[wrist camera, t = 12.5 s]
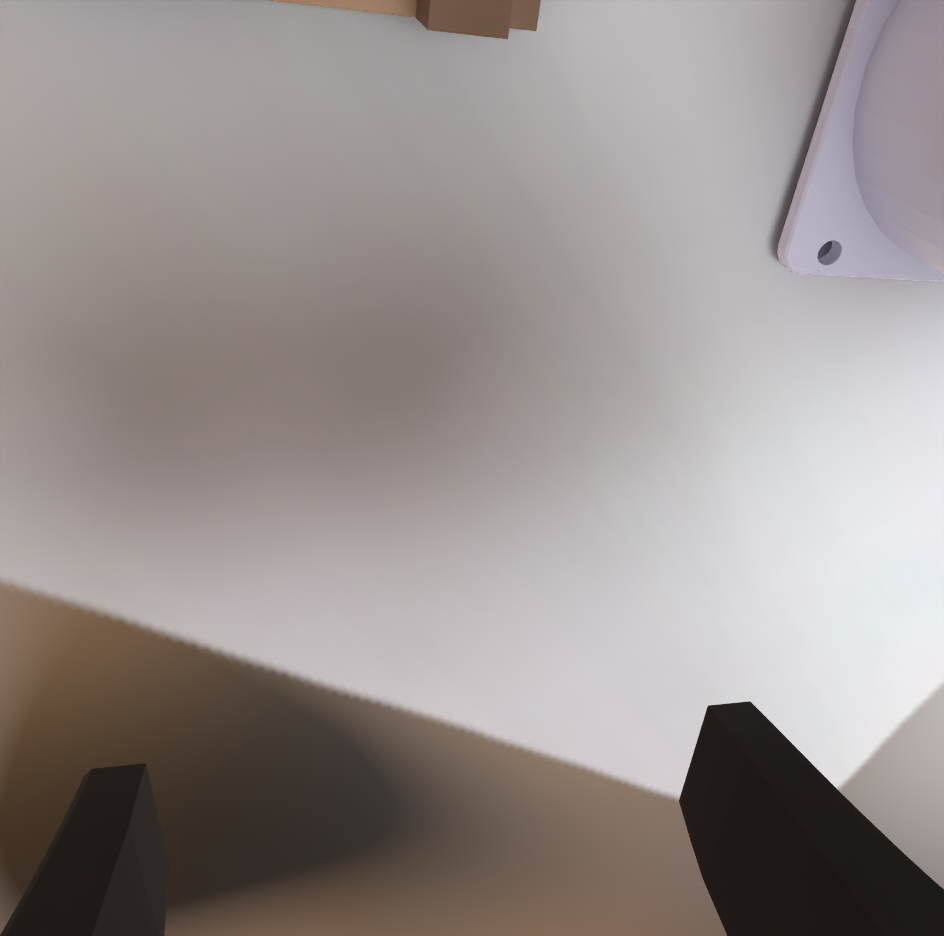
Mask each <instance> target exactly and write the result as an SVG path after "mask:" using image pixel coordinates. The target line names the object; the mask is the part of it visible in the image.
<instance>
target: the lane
mask: <svg viewBox="0 0 944 936" xmlns="http://www.w3.org/2000/svg"><path fill="white" fill-rule="evenodd" d="M272 1H281V2H289V3H298V4H307V5H315V6H324V7H333V8H341V9H350V10H358V11H367V12H376V13H384V14H393V15H402V16H410V17H416V18H417V19H418V20H419V21H420V22H421V23H422V24H423V25H424V26H425V28H426V29H427V30H432V31H441V32H450V33H459V34H467V35H476V36H485V37H494V38H503V39H508V33H509V28H514V29H522V30H531V31H536V28H537V21H538V14H539V7H540V0H272Z"/></svg>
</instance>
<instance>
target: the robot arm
mask: <svg viewBox="0 0 944 936" xmlns="http://www.w3.org/2000/svg"><path fill="white" fill-rule="evenodd" d="M828 241H832V247H831V249H830V250H829V252H828V253H827V254H826V255H825V256H823V257H822V258H818V252H819V250H820V248H821V247H822V246H823V245H824V244H825V243H827V242H828ZM777 255H778V258H779V261H780V262H781V263H782V264H783V265H784V266H785V267H786V268H787V269H789V270H790V271H791V272H794V273H798V274H809V275H826V276H843V277H860V278H877V279H894V280H911V281H928V282H944V0H856V3H855V6H854V9H853V12H852V15H851V18H850V21H849V24H848V28H847V31H846V34H845V37H844V40H843V43H842V46H841V50H840V53H839V56H838V59H837V62H836V65H835V68H834V71H833V75H832V78H831V81H830V84H829V87H828V90H827V93H826V97H825V100H824V103H823V106H822V109H821V112H820V115H819V119H818V122H817V125H816V128H815V131H814V134H813V137H812V140H811V144H810V147H809V150H808V153H807V156H806V159H805V162H804V166H803V169H802V172H801V175H800V178H799V181H798V184H797V188H796V191H795V194H794V197H793V200H792V203H791V206H790V209H789V213H788V216H787V219H786V222H785V225H784V228H783V231H782V235H781V238H780V241H779V244H778V251H777ZM679 802H680V806H681V809H682V812H683V816H684V819H685V823H686V826H687V830H688V833H689V836H690V840H691V843H692V846H693V849H694V852H695V856H696V859H697V862H698V865H699V868H700V871H701V874H702V877H703V880H704V882H705V884H706V887H707V889H708V892H709V894H710V896H711V899H712V901H713V903H714V906H715V908H716V910H717V913H718V915H719V917H720V920H721V922H722V924H723V926H724V928H725V931H726V933H727V936H944V889H943V888H941V887H940V886H939V885H938V884H937V883H936V882H935V881H933V880H932V879H931V878H930V877H929V876H928V875H927V874H925V873H924V872H923V871H922V870H921V869H920V868H919V867H918V866H917V865H916V864H914V862H912V861H911V860H910V859H909V858H908V857H907V856H906V855H905V854H904V853H903V852H902V851H901V850H900V849H898V848H897V847H896V846H895V845H894V844H893V843H892V842H891V841H890V840H889V839H888V838H887V837H886V836H885V835H884V834H883V833H882V832H881V831H880V830H879V829H878V828H876V827H875V826H874V825H873V824H872V823H871V822H870V821H869V820H868V819H867V818H866V817H865V816H864V815H863V814H862V813H861V812H860V811H859V810H858V809H857V808H855V807H854V805H853V804H852V803H851V802H850V801H849V800H847V799H846V798H845V797H844V796H843V795H842V794H841V793H840V792H839V791H838V790H837V789H836V788H835V787H834V786H833V785H832V784H831V783H830V782H829V781H828V780H827V779H826V778H825V777H824V776H823V775H822V774H821V773H820V772H819V771H818V770H817V769H816V768H815V767H814V766H813V765H812V764H811V762H810V761H809V760H808V759H807V758H806V757H805V756H804V755H803V754H802V753H801V752H800V751H799V750H798V749H797V748H796V747H795V746H794V745H793V744H792V743H791V742H790V741H789V740H788V739H787V738H786V737H785V736H784V735H783V734H782V733H781V732H780V731H779V730H778V729H777V728H776V727H775V726H774V725H773V724H772V723H771V722H770V721H769V720H768V719H767V718H766V717H765V716H764V715H763V714H762V713H761V712H760V711H759V710H758V709H757V708H756V707H755V706H754V705H753V704H752V703H751V702H740V703H730V704H721V705H711V706H708V707H707V711H706V714H705V717H704V721H703V724H702V727H701V730H700V734H699V737H698V740H697V744H696V747H695V750H694V753H693V757H692V760H691V763H690V767H689V770H688V773H687V776H686V780H685V783H684V786H683V790H682V793H681V796H680V800H679ZM168 872H169V860H168V856H167V852H166V848H165V843H164V839H163V835H162V830H161V826H160V822H159V818H158V813H157V809H156V805H155V801H154V796H153V792H152V787H151V783H150V779H149V775H148V770H147V766H146V764H136V765H126V766H116V767H106V768H96V769H92V770H90V771H89V772H88V773H87V774H86V775H85V776H84V777H83V779H82V782H81V784H80V786H79V788H78V790H77V792H76V795H75V797H74V799H73V802H72V803H71V805H70V808H69V809H68V811H67V813H66V816H65V817H64V820H63V822H62V823H61V825H60V828H59V829H58V831H57V833H56V835H55V837H54V839H53V841H52V843H51V845H50V847H49V849H48V851H47V853H46V855H45V857H44V858H43V860H42V862H41V864H40V866H39V868H38V870H37V871H36V873H35V875H34V877H33V879H32V880H31V882H30V884H29V886H28V888H27V890H26V892H25V893H24V895H23V897H22V899H21V900H20V902H19V904H18V906H17V907H16V909H15V911H14V912H13V914H12V916H11V917H10V919H9V921H8V923H7V924H6V926H5V928H4V930H3V932H2V933H1V935H0V936H164V930H165V918H166V917H165V916H166V903H167V888H168Z"/></svg>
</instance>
